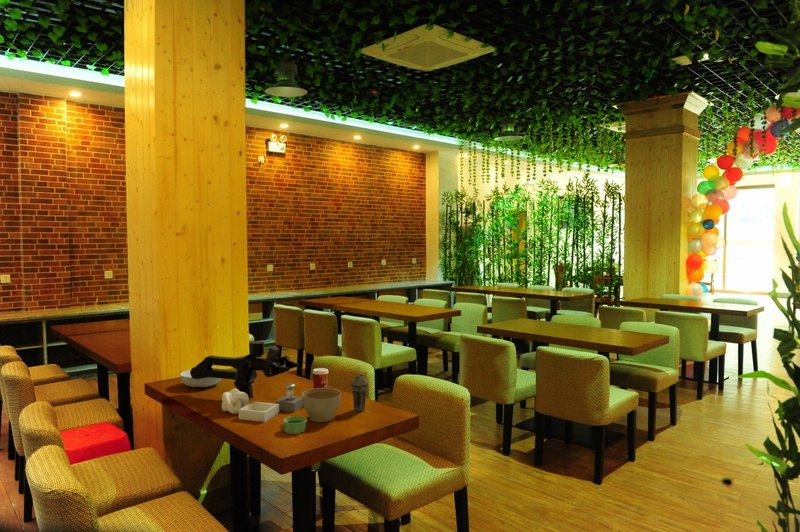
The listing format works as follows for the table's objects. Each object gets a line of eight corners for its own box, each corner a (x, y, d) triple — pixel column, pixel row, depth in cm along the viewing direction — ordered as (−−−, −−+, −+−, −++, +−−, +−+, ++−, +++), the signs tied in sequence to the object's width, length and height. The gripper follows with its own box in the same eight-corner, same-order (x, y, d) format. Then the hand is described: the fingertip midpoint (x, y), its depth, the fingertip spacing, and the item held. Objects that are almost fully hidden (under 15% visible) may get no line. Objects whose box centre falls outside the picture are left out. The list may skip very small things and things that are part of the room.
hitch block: (275, 410, 235) (275, 401, 235) (285, 404, 244) (285, 395, 244) (294, 412, 233) (294, 403, 232) (303, 406, 241) (303, 397, 241)
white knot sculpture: (213, 411, 232) (213, 390, 232) (237, 405, 241) (237, 385, 241) (227, 417, 225) (227, 396, 224) (252, 410, 234) (252, 390, 233)
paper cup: (325, 402, 248) (325, 372, 247) (309, 400, 250) (309, 370, 249) (330, 397, 256) (331, 368, 255) (315, 396, 257) (315, 367, 257)
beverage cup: (370, 408, 239) (370, 364, 238) (363, 413, 232) (364, 367, 231) (355, 407, 242) (355, 362, 241) (348, 411, 235) (348, 366, 234)
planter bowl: (293, 419, 223) (293, 393, 223) (322, 410, 236) (323, 385, 235) (319, 428, 213) (319, 401, 213) (348, 418, 225) (349, 392, 225)
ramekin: (285, 436, 204) (285, 424, 204) (281, 428, 212) (281, 417, 212) (309, 433, 208) (309, 421, 208) (303, 425, 216) (303, 415, 216)
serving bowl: (207, 378, 288) (207, 365, 287) (232, 384, 275) (232, 371, 275) (171, 386, 271) (171, 372, 271) (196, 393, 259) (196, 379, 258)
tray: (238, 419, 222) (238, 409, 222) (254, 410, 234) (254, 401, 234) (264, 422, 219) (264, 412, 219) (279, 413, 231) (279, 404, 231)
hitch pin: (282, 409, 237) (282, 385, 236) (287, 406, 241) (287, 382, 241) (292, 410, 235) (292, 386, 235) (296, 407, 240) (297, 383, 239)
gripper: (252, 351, 239) (284, 353, 235) (273, 343, 257) (303, 346, 253) (252, 376, 240) (284, 378, 236) (273, 366, 258) (303, 369, 254)
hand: (294, 367), depth 245 cm, fingers open, 9 cm apart
